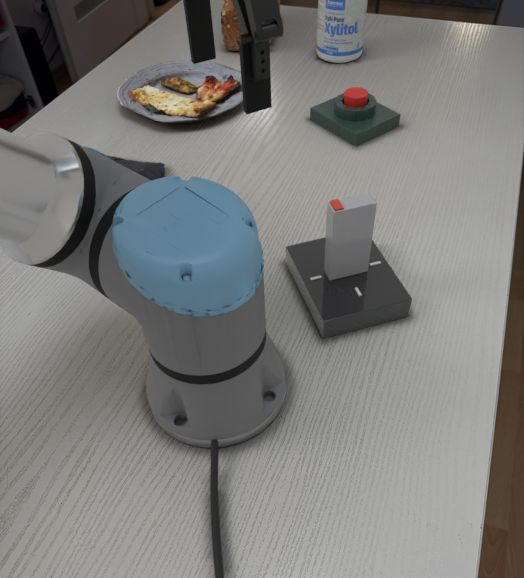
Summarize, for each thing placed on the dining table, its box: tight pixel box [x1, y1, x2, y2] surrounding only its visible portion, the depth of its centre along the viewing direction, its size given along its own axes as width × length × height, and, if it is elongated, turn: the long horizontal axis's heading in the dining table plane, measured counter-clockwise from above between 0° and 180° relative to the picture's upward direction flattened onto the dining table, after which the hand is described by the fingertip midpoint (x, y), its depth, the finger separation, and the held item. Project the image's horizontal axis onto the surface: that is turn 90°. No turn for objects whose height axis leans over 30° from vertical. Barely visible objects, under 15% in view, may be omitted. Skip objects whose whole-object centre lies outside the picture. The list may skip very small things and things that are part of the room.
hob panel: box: [285, 236, 413, 339], centre depth 68 cm, size 14×11×3 cm
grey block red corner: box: [324, 192, 378, 280], centre depth 63 cm, size 5×2×10 cm, turn 106°
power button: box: [343, 86, 369, 107], centre depth 92 cm, size 4×4×2 cm
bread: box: [220, 0, 281, 52], centre depth 118 cm, size 19×11×10 cm, turn 170°
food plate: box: [116, 59, 243, 124], centre depth 103 cm, size 25×23×4 cm
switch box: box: [309, 92, 401, 147], centre depth 94 cm, size 12×10×4 cm
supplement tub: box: [315, 0, 369, 64], centre depth 107 cm, size 10×10×15 cm
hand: (228, 83), depth 58 cm, fingers open, 13 cm apart
